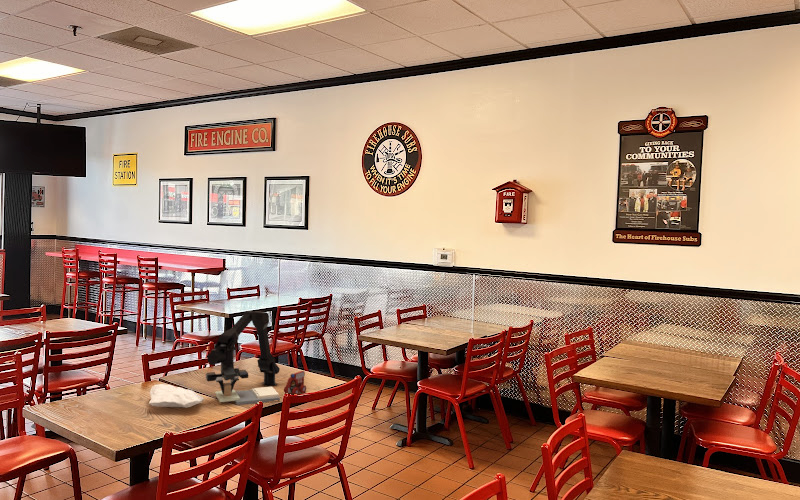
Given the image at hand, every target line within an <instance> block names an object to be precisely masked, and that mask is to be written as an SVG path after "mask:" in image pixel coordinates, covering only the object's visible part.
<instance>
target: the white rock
mask: <svg viewBox="0 0 800 500" xmlns="http://www.w3.org/2000/svg"><path fill="white" fill-rule="evenodd" d="M149 396H150V401H149V402H148V404H149V406H152V407H156V408H158V407H159V408H160V407H161V408H167V407H169V408H191V407H192V406H196V405H198V404H202V402H203V401H204V400H205V398H204V397H203V396H202V395H199V394H197V393H196V392H195V391H194V390H191V389H186V388H183V387H179V386H177V387H175V386H173V385H172V384H164V383H159V384H155V385H153V386H151V389H150V390H149Z"/></svg>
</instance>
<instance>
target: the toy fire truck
mask: <svg viewBox="0 0 800 500" xmlns="http://www.w3.org/2000/svg"><path fill="white" fill-rule="evenodd" d="M305 373H306V371H304V370H301V371H298V372H295V373H291V374H290V375H289V377H288V379H287V382H286V385H285V386H284V387H283V393H284V392H285V394H286V393H289V394H292V395H293V394H298V395H299V394H304V393H306V392H307V386H306V385H305V376H306V375H305Z"/></svg>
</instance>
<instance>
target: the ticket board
mask: <svg viewBox="0 0 800 500" xmlns="http://www.w3.org/2000/svg"><path fill="white" fill-rule="evenodd" d="M235 391H236V393H237V394H238V396H239V397H240V400H238V401H233V402H234V403H235V405H236V406H243V405H252V404H258V403H257V402H259V401H262V402H263V403H262V404H264V402H265V403H270V402H269V401H274V400H280V401H281V398H280V394H279V392H278V391H276V389H275V388H274V387H273V386H264V387H262V386H261V387H253V388H251V389H245V390H235Z"/></svg>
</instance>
